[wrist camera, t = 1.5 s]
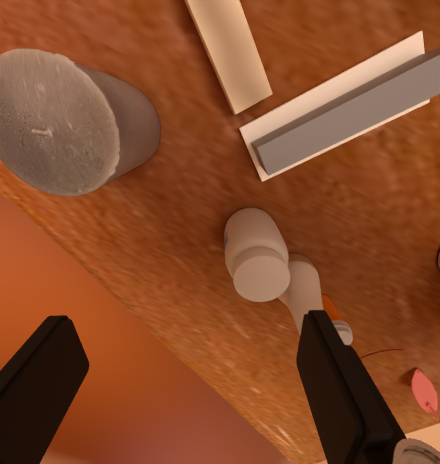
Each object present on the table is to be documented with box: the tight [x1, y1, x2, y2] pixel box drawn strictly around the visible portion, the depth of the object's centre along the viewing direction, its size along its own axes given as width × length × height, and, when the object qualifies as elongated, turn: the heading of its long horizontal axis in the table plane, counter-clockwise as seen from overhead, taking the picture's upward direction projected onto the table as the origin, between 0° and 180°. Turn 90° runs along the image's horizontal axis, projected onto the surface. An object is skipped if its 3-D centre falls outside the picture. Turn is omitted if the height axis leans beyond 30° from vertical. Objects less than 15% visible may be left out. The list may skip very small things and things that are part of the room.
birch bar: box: [184, 0, 273, 115], centre depth 22 cm, size 4×18×5 cm, turn 27°
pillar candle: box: [0, 48, 161, 196], centre depth 22 cm, size 10×10×15 cm
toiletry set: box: [224, 208, 353, 345], centre depth 28 cm, size 25×8×21 cm, turn 43°
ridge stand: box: [239, 31, 440, 182], centre depth 25 cm, size 20×7×8 cm, turn 117°
